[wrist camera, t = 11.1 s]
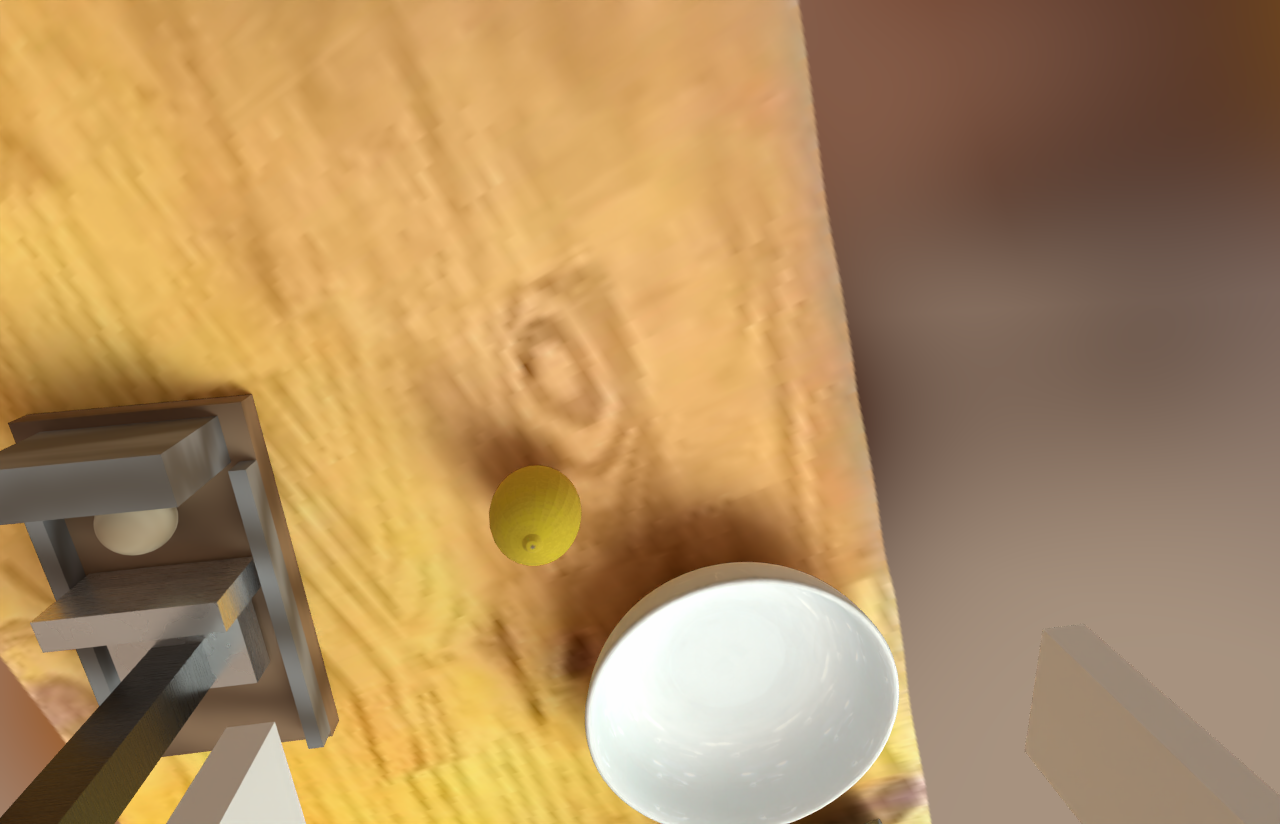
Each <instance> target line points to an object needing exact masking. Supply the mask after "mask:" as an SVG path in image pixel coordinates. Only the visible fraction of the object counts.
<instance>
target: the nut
mask: <svg viewBox="0 0 1280 824" xmlns="http://www.w3.org/2000/svg"><path fill="white" fill-rule="evenodd" d="M177 524H178V511H177V508H176V507H175V508H165V509H155V510H145V511H135V512H125V513H115V514H105V515H95V516H94V523H93V525H94V531H95V534H96V536H97V538H98V540H99V541H100V542H101V543H102V544H103V545H104V546H105V547H106V548H108V549H109V550H111V551H113V552H116V553H119V554H123V555H141V554H145V553H149V552H152V551H154V550H156V549H158V548H160V547H161V546H162V545H164V544H165V543H166V542H167V541H168V540H169V539H170V538H171V537H172V535H173V534H174V532H175V530H176V528H177Z"/></svg>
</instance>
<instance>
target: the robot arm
mask: <svg viewBox="0 0 1280 824" xmlns="http://www.w3.org/2000/svg"><path fill="white" fill-rule="evenodd" d="M1025 752H1026V754H1027V755H1028V756H1029V757H1030V759H1031V760H1032V761H1033V762H1034V764H1035V765H1036V766H1037V768H1038V769H1039V770H1040V771H1041V773H1042V774H1043V775H1044V777H1045V778H1046V779H1047V780H1048V782H1049V783H1050V784H1051V785H1052V787H1053V788H1054V789H1055V791H1056V792H1057V793H1058V794H1059V796H1060V797H1061V798H1062V799H1063V801H1064V802H1065V803H1066V805H1067V806H1068V807H1069V808H1070V810H1071V811H1072V812H1073V813H1074V815H1075V816H1076V817H1077V819H1078V820H1079V821H1080V822H1081V824H1280V795H1279V794H1278V793H1277V792H1276V791H1275V790H1273V789H1272V788H1271V787H1270V786H1269V785H1268V784H1267V783H1265V782H1264V781H1263V780H1262V779H1261V778H1259V777H1258V776H1257V775H1256V774H1255V773H1254V772H1253V771H1252V770H1251V769H1249V768H1248V767H1247V766H1246V765H1245V764H1244V763H1243V762H1241V761H1240V760H1239V759H1238V758H1237V757H1236V756H1234V755H1233V754H1232V753H1231V752H1230V751H1229V750H1228V749H1226V748H1225V747H1224V746H1223V745H1222V744H1221V743H1220V742H1219V741H1217V740H1216V739H1215V738H1214V737H1213V736H1212V735H1211V734H1209V733H1208V732H1207V731H1206V730H1205V729H1204V728H1202V727H1201V726H1200V725H1199V724H1198V723H1197V722H1196V721H1194V720H1193V719H1192V718H1191V717H1190V716H1189V715H1188V714H1187V713H1185V712H1184V711H1183V710H1182V709H1181V708H1180V707H1179V706H1177V705H1176V704H1175V703H1174V702H1173V701H1172V700H1171V699H1169V698H1168V697H1167V696H1166V695H1165V694H1164V693H1163V692H1161V691H1160V690H1159V689H1158V688H1157V687H1155V685H1153V684H1152V683H1151V682H1150V681H1149V680H1148V679H1146V678H1145V677H1144V676H1143V675H1142V674H1141V673H1140V672H1139V671H1137V670H1136V669H1135V668H1134V667H1133V666H1132V665H1131V664H1129V663H1128V662H1127V661H1126V660H1125V659H1124V658H1122V657H1121V656H1120V655H1119V654H1118V653H1117V652H1116V651H1115V650H1113V649H1112V648H1111V647H1110V646H1109V645H1108V644H1107V643H1105V642H1104V641H1103V640H1102V639H1101V638H1100V637H1099V636H1097V635H1096V634H1095V633H1094V632H1093V631H1092V630H1091V629H1089V628H1088V627H1087V626H1086V625H1085V624H1080V625H1072V626H1064V627H1056V628H1047V629H1043V631H1042V638H1041V645H1040V652H1039V658H1038V665H1037V672H1036V678H1035V685H1034V691H1033V698H1032V705H1031V711H1030V718H1029V725H1028V731H1027V738H1026V745H1025ZM166 824H306V822H305V819H304V815H303V812H302V809H301V806H300V802H299V799H298V796H297V793H296V789H295V786H294V783H293V780H292V776H291V773H290V770H289V766H288V763H287V760H286V757H285V753H284V750H283V747H282V744H281V740H280V737H279V734H278V731H277V727H276V724H275V722H269V723H261V724H252V725H244V726H236V727H227V728H226V729H225V731H224V732H223V734H222V735H221V737H220V739H219V740H218V742H217V743H216V745H215V747H214V748H213V750H212V751H211V753H210V755H209V756H208V758H207V759H206V761H205V763H204V764H203V766H202V767H201V769H200V771H199V772H198V774H197V775H196V777H195V779H194V780H193V782H192V783H191V785H190V787H189V788H188V790H187V791H186V793H185V795H184V796H183V798H182V799H181V801H180V803H179V804H178V806H177V807H176V809H175V811H174V812H173V814H172V815H171V817H170V819H169V820H168V822H167V823H166Z"/></svg>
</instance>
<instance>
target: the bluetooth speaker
mask: <svg viewBox="0 0 1280 824" xmlns="http://www.w3.org/2000/svg"><path fill="white" fill-rule="evenodd" d="M865 824H882V823H881V821H880V819H876V820H873V821H870V822H867V823H865Z"/></svg>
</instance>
